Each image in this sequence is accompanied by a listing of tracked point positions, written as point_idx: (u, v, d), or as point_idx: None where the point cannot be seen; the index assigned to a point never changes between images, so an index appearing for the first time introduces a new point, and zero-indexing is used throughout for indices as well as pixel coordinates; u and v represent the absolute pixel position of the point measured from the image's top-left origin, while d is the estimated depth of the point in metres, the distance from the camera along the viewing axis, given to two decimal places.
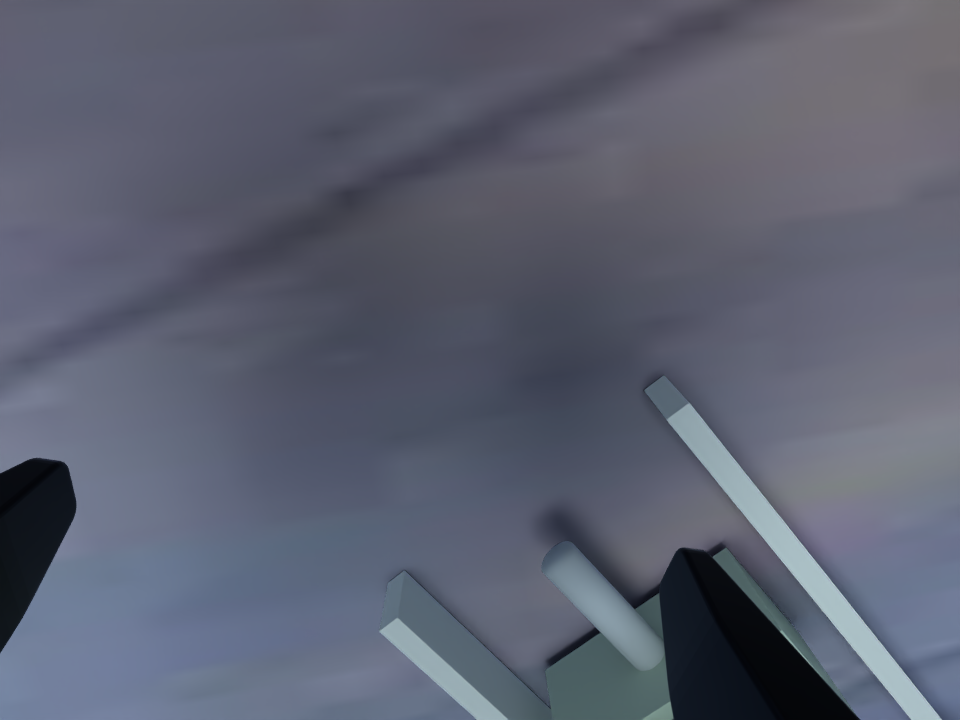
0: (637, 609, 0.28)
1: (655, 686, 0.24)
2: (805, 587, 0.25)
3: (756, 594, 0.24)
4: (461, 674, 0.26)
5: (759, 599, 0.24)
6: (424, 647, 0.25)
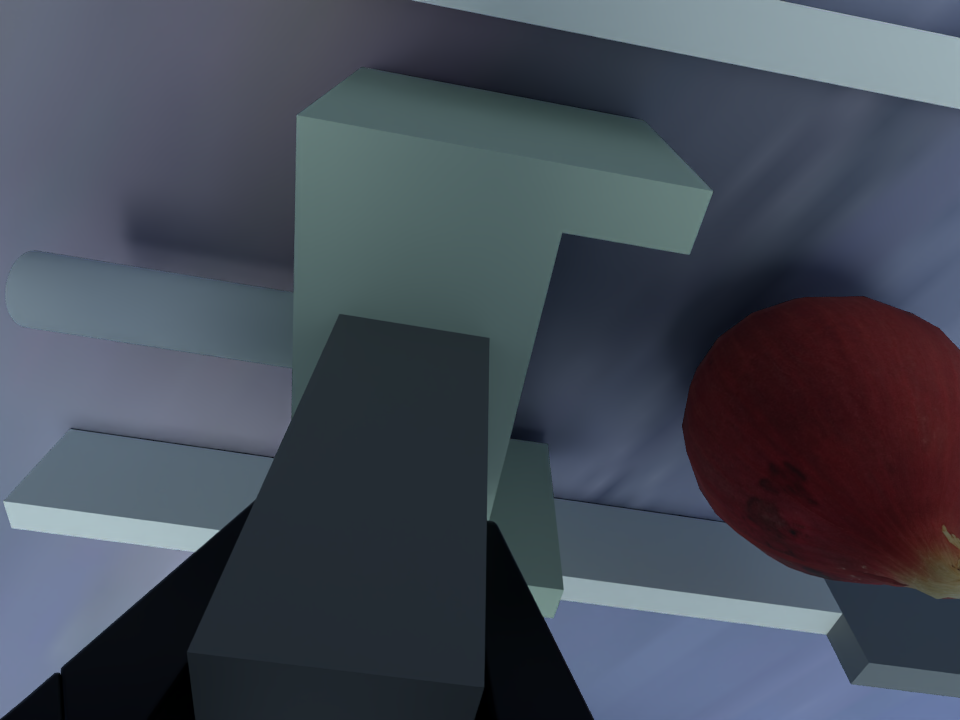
0: None
1: None
2: (434, 0, 0.10)
3: None
4: (157, 519, 0.17)
5: None
6: (75, 515, 0.16)
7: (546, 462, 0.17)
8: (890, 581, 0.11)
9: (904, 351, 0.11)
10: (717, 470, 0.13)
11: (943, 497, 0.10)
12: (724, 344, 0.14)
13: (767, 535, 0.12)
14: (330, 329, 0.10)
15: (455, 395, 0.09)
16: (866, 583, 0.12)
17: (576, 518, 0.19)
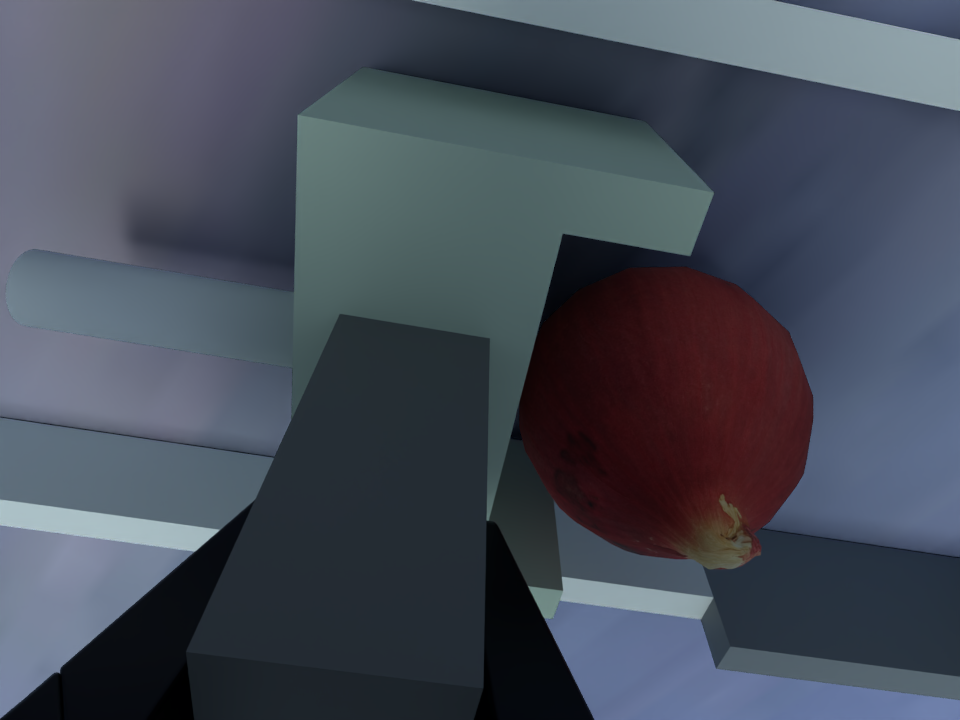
0: None
1: None
2: None
3: None
4: (6, 498, 0.16)
5: None
6: None
7: None
8: (674, 552, 0.10)
9: (699, 318, 0.11)
10: (533, 443, 0.12)
11: (724, 466, 0.10)
12: (551, 316, 0.13)
13: (575, 508, 0.12)
14: (330, 329, 0.10)
15: (455, 396, 0.09)
16: (670, 557, 0.12)
17: None
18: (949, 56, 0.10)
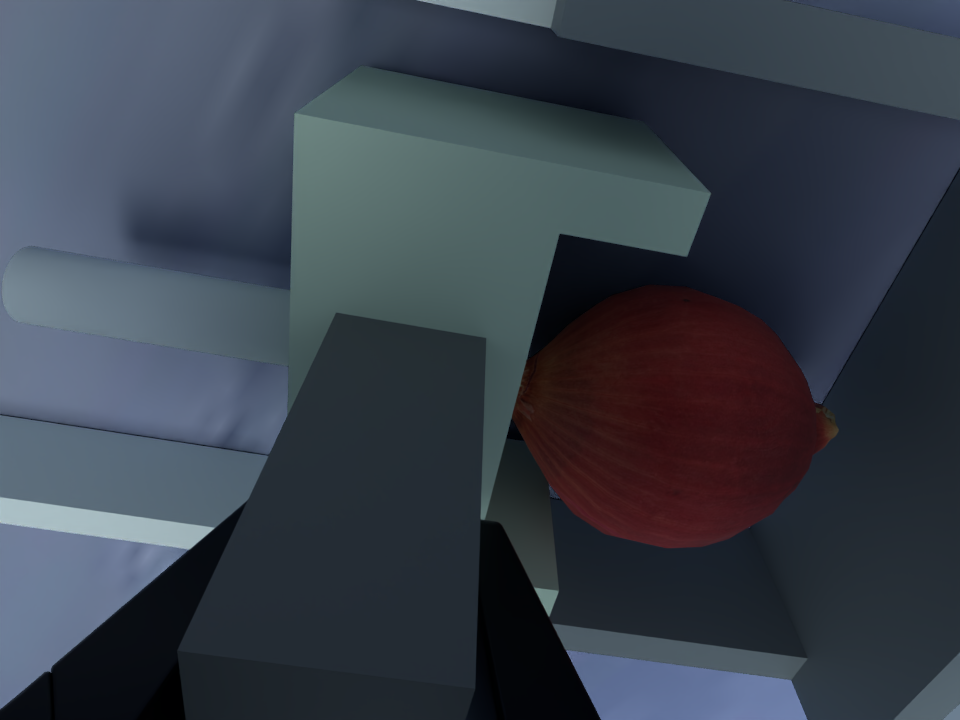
0: None
1: None
2: None
3: None
4: None
5: None
6: None
7: None
8: None
9: (773, 349, 0.12)
10: (730, 535, 0.13)
11: None
12: (676, 471, 0.12)
13: None
14: (327, 328, 0.10)
15: (451, 396, 0.09)
16: None
17: (189, 461, 0.18)
18: None
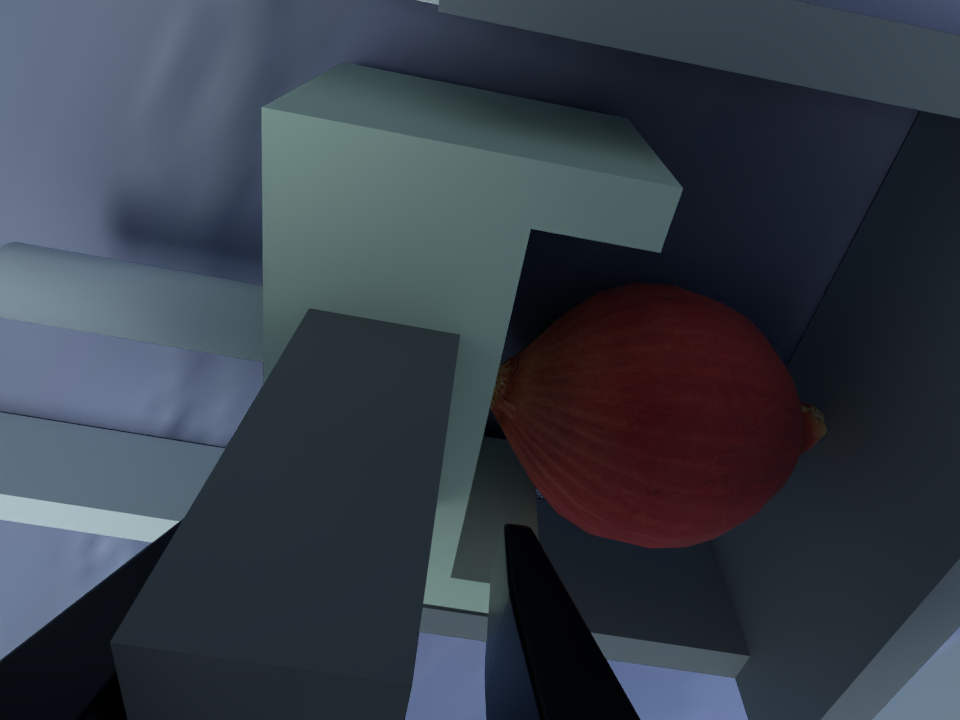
0: None
1: None
2: None
3: None
4: None
5: None
6: None
7: None
8: None
9: (757, 347, 0.12)
10: (714, 535, 0.13)
11: None
12: (656, 469, 0.11)
13: None
14: None
15: (418, 392, 0.09)
16: None
17: (134, 451, 0.18)
18: None
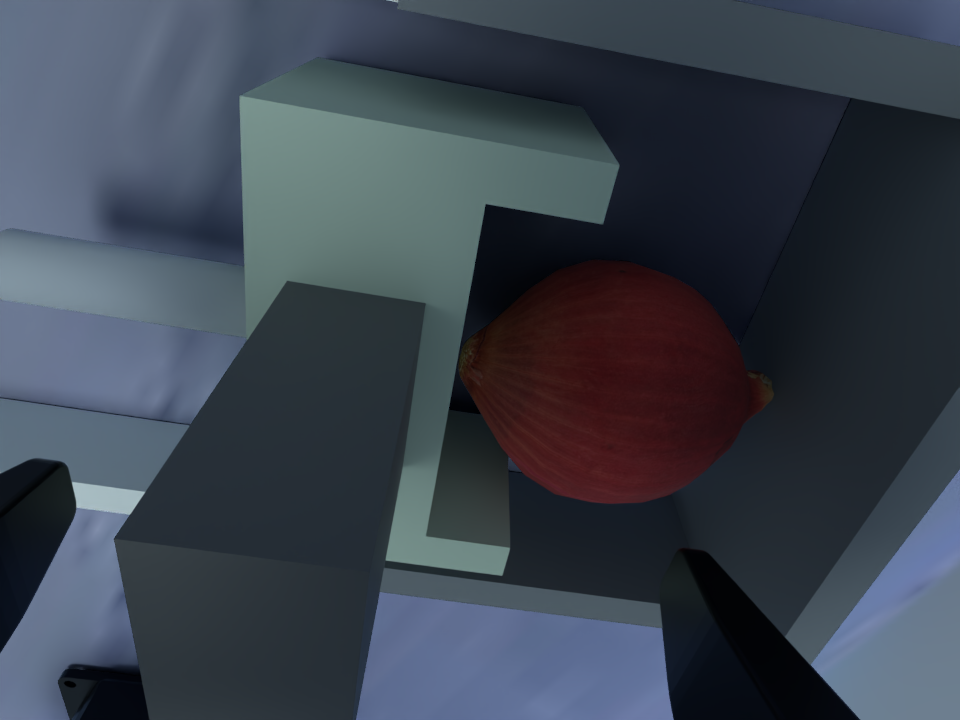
0: None
1: None
2: None
3: None
4: None
5: None
6: None
7: None
8: None
9: (702, 315, 0.13)
10: (667, 490, 0.14)
11: None
12: (609, 426, 0.13)
13: None
14: None
15: (384, 350, 0.10)
16: None
17: (126, 432, 0.19)
18: None
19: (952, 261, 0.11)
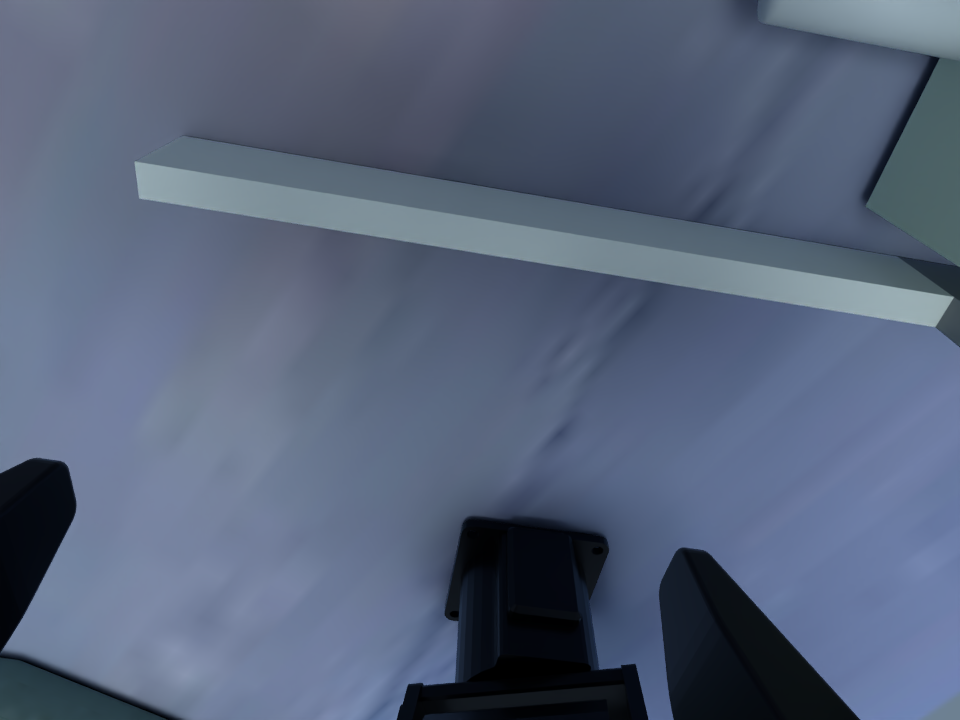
0: None
1: None
2: None
3: None
4: (283, 185, 0.17)
5: None
6: (203, 178, 0.17)
7: None
8: None
9: None
10: None
11: None
12: None
13: None
14: None
15: None
16: None
17: (681, 227, 0.19)
18: None
19: None
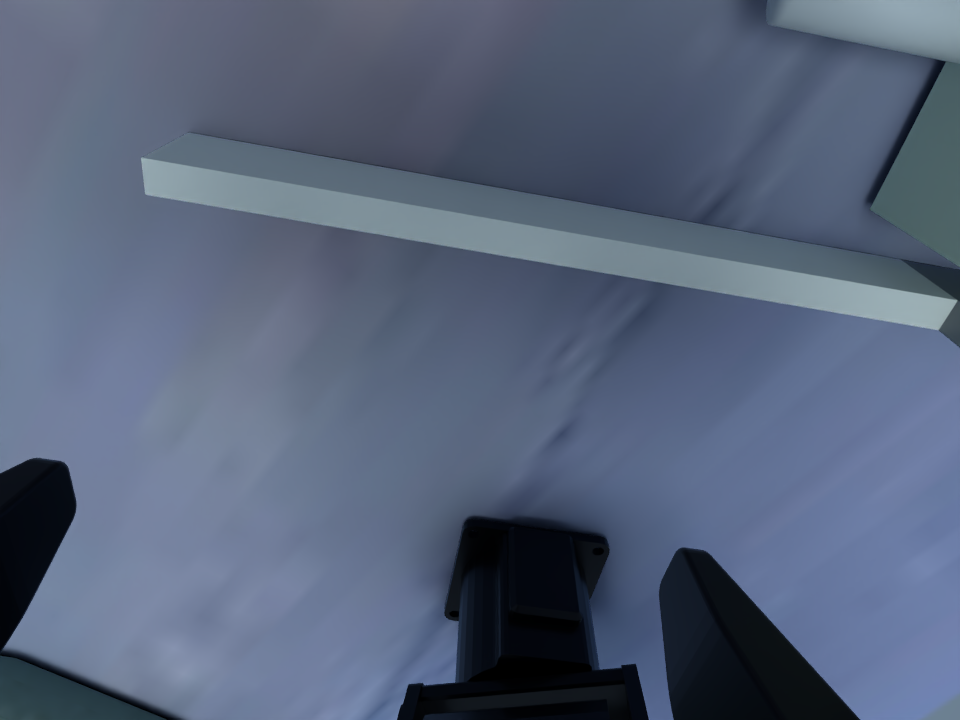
0: None
1: None
2: None
3: None
4: (289, 182, 0.17)
5: None
6: (210, 175, 0.17)
7: None
8: None
9: None
10: None
11: None
12: None
13: None
14: None
15: None
16: None
17: (686, 228, 0.19)
18: None
19: None
